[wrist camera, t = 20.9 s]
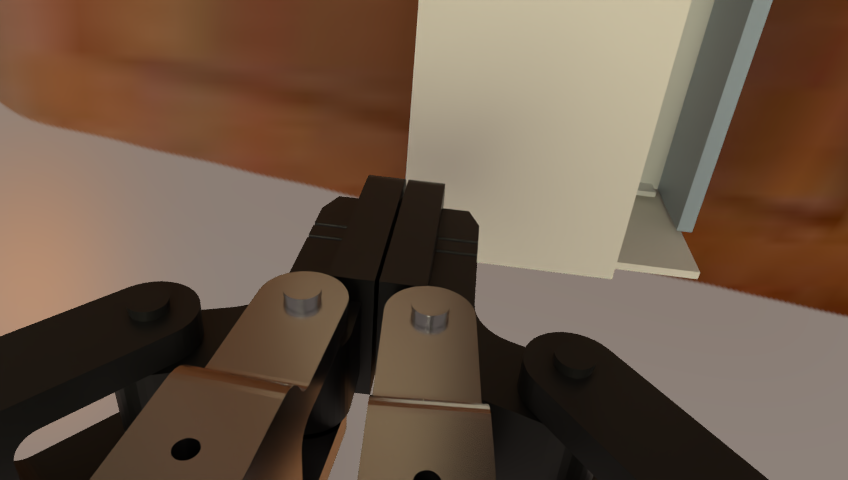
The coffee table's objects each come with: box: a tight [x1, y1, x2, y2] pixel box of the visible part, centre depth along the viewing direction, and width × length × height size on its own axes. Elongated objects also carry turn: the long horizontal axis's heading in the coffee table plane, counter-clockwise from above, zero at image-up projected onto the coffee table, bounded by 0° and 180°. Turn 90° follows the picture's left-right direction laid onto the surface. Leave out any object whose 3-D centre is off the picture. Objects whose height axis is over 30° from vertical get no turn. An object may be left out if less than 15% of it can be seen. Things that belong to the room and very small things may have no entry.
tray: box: [636, 0, 773, 232], centre depth 33 cm, size 14×14×6 cm
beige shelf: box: [406, 0, 700, 279], centre depth 32 cm, size 16×15×12 cm
